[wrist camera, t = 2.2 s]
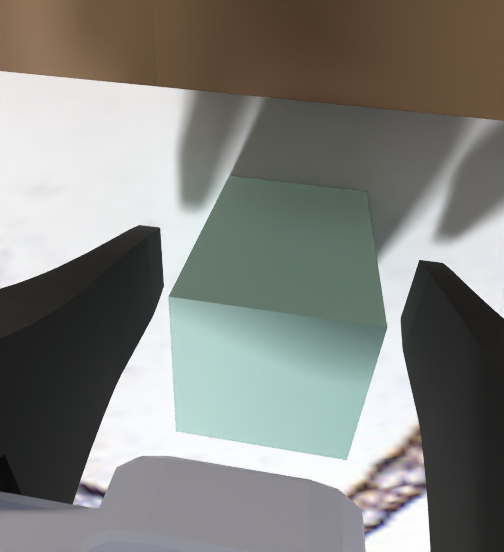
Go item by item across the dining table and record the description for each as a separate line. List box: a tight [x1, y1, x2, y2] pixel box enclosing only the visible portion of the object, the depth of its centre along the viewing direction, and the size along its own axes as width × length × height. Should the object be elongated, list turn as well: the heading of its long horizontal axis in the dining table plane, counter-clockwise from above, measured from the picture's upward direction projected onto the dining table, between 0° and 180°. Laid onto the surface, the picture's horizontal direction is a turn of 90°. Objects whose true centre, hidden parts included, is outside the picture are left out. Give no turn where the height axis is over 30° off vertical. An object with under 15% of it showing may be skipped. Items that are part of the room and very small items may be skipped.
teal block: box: [169, 176, 387, 460], centre depth 12 cm, size 4×4×6 cm
